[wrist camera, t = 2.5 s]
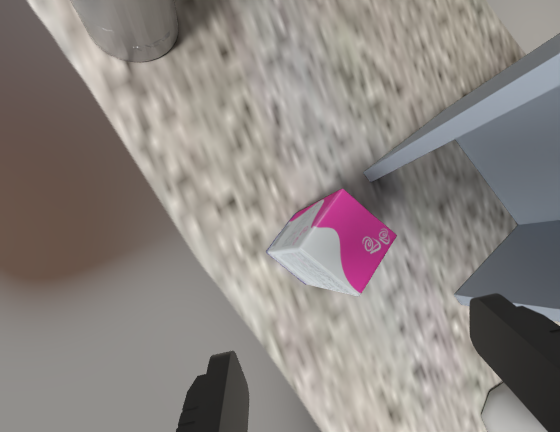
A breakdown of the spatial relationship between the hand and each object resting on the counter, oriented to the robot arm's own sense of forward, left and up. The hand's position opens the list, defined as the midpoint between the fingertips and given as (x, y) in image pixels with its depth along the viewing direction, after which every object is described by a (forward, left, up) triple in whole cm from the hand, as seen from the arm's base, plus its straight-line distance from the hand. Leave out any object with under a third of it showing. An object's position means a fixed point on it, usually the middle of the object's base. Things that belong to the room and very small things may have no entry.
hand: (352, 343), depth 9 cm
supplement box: (-1, +6, -21) cm, 21 cm away
